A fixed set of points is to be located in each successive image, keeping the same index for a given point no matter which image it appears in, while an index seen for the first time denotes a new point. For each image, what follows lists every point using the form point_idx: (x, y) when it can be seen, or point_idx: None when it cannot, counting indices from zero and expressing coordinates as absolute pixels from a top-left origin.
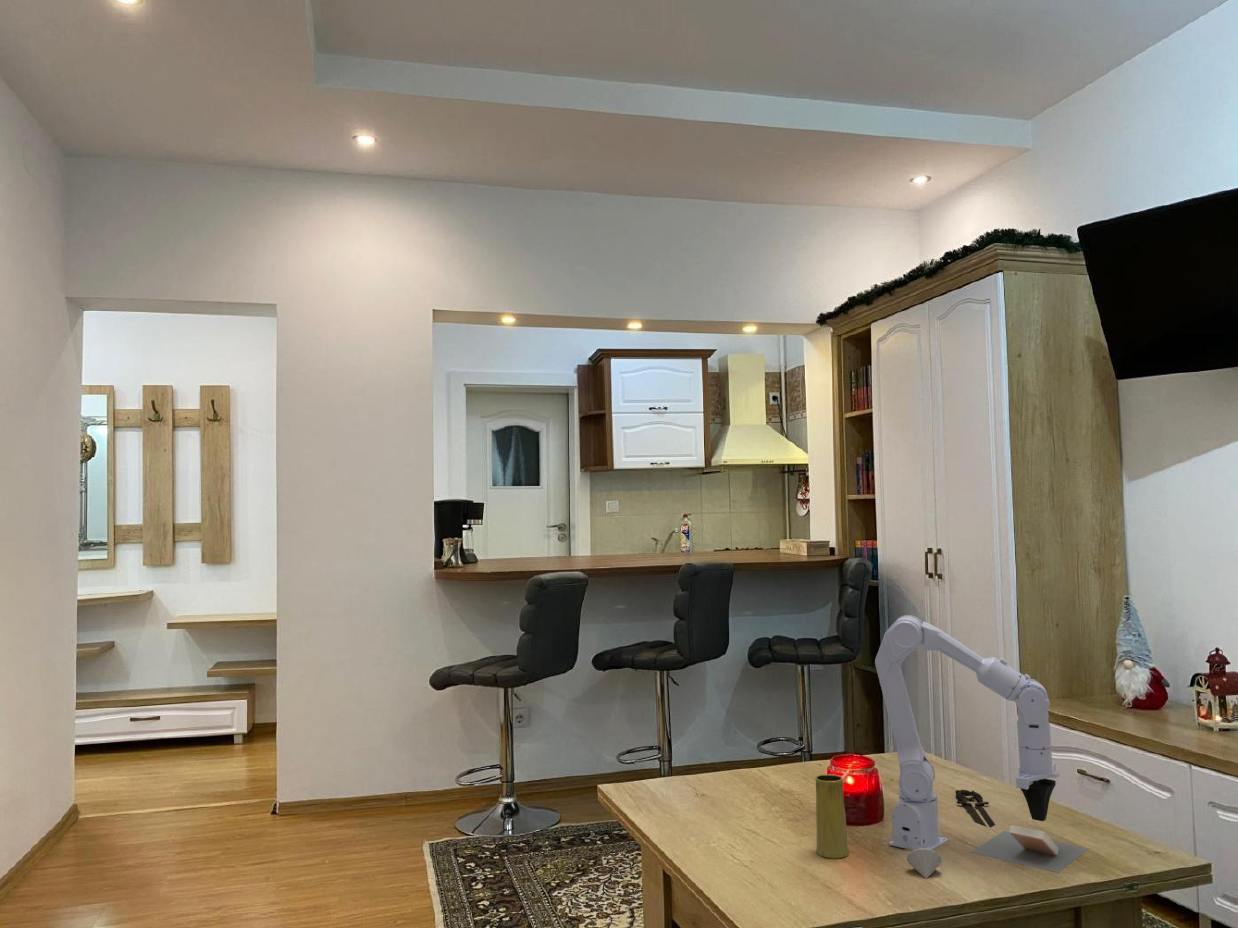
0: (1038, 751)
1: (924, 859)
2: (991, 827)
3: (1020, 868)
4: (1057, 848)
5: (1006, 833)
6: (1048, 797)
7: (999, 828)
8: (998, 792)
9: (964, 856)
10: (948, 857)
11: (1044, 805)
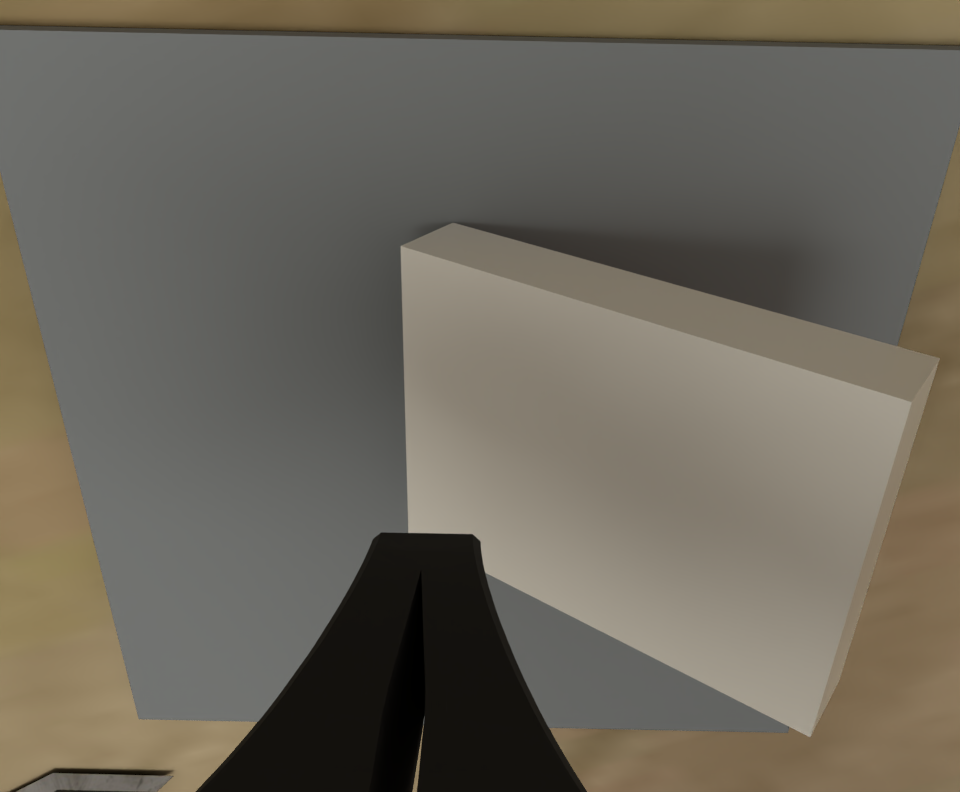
0: None
1: None
2: (138, 787)
3: (934, 377)
4: (433, 248)
5: (188, 689)
6: (340, 775)
7: (80, 749)
8: None
9: (849, 727)
10: (922, 780)
11: (516, 691)
